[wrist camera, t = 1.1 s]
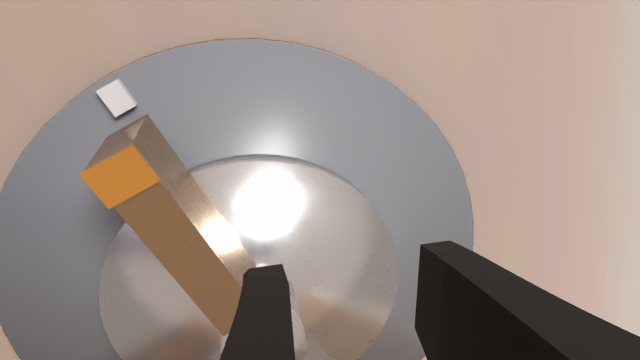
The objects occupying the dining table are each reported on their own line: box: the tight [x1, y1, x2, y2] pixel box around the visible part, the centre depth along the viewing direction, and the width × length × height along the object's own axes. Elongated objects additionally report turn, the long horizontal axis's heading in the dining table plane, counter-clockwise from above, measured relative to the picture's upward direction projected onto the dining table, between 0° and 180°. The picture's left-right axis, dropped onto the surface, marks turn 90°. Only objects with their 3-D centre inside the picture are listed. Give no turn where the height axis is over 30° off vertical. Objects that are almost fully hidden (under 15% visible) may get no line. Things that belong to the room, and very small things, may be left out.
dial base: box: [0, 38, 474, 360], centre depth 20 cm, size 20×20×1 cm
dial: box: [79, 114, 398, 360], centre depth 17 cm, size 14×12×4 cm
